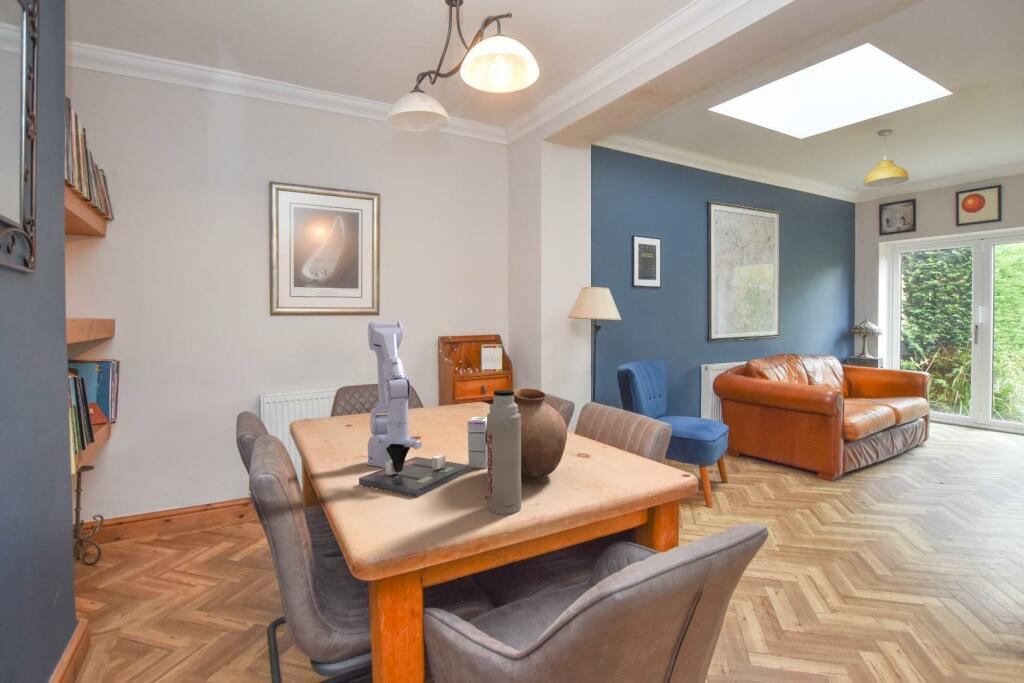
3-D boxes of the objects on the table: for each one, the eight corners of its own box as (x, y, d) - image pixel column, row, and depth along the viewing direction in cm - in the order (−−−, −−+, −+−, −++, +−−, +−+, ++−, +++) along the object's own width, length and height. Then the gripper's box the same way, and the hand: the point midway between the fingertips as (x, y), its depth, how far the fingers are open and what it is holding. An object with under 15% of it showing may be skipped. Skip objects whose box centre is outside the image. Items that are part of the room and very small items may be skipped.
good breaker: (432, 468, 145) (431, 457, 145) (439, 465, 148) (439, 454, 148) (437, 469, 144) (437, 458, 144) (445, 466, 147) (445, 455, 147)
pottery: (507, 462, 159) (507, 382, 158) (578, 471, 149) (578, 386, 148) (470, 483, 139) (469, 392, 138) (549, 496, 129) (548, 397, 127)
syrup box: (486, 468, 153) (486, 420, 152) (467, 467, 154) (467, 419, 153) (491, 463, 158) (490, 416, 158) (473, 462, 159) (472, 416, 159)
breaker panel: (359, 485, 138) (358, 477, 138) (416, 462, 159) (416, 456, 159) (417, 497, 128) (417, 489, 128) (469, 471, 149) (469, 464, 149)
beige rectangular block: (385, 473, 140) (385, 462, 140) (394, 470, 143) (394, 459, 143) (391, 474, 139) (391, 463, 139) (400, 471, 142) (399, 460, 142)
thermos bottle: (488, 515, 117) (487, 393, 115) (487, 502, 125) (486, 388, 123) (523, 513, 117) (522, 392, 116) (519, 501, 125) (518, 388, 124)
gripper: (367, 422, 140) (368, 471, 140) (408, 427, 133) (409, 479, 133) (385, 418, 146) (386, 465, 146) (425, 422, 139) (426, 472, 139)
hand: (398, 471), depth 140 cm, fingers closed
